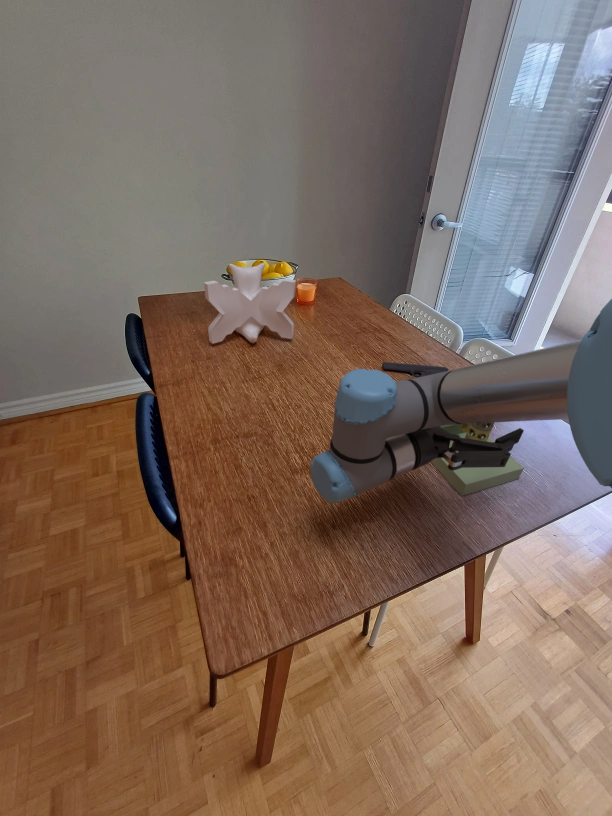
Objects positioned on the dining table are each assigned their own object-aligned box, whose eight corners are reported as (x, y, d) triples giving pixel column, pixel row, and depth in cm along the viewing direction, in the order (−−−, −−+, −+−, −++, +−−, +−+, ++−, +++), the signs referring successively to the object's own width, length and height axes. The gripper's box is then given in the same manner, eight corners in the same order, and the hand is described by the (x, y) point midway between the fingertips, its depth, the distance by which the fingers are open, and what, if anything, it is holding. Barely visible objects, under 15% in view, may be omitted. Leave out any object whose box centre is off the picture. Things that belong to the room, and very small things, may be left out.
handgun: (454, 394, 102) (445, 371, 111) (457, 387, 100) (447, 364, 110) (385, 388, 102) (381, 365, 112) (386, 381, 101) (382, 358, 111)
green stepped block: (518, 478, 78) (530, 456, 74) (461, 496, 73) (471, 472, 70) (470, 435, 88) (478, 413, 85) (417, 447, 84) (424, 425, 80)
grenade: (467, 466, 75) (493, 401, 67) (444, 444, 80) (466, 381, 72) (496, 458, 78) (525, 394, 69) (472, 437, 83) (496, 375, 74)
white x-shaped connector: (280, 317, 135) (282, 252, 123) (295, 345, 119) (299, 274, 107) (205, 321, 129) (199, 253, 117) (210, 351, 113) (204, 276, 100)
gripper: (351, 424, 74) (432, 396, 84) (453, 519, 58) (540, 471, 67) (357, 391, 70) (441, 365, 80) (469, 483, 53) (559, 437, 63)
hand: (487, 414), depth 73 cm, fingers open, 13 cm apart
